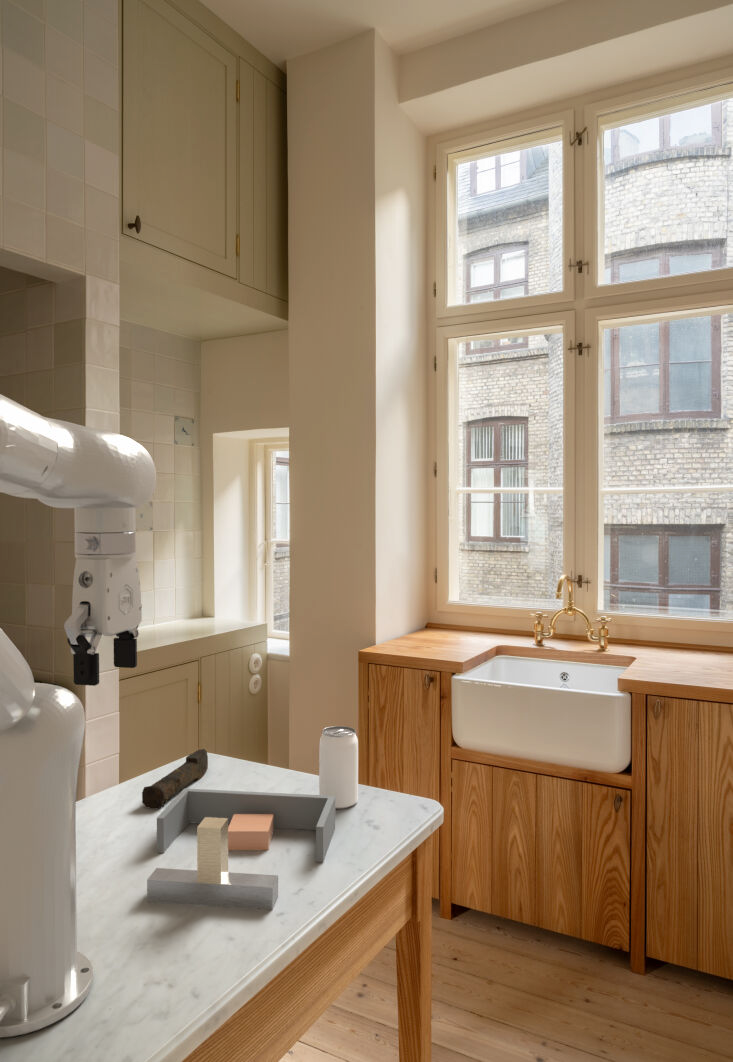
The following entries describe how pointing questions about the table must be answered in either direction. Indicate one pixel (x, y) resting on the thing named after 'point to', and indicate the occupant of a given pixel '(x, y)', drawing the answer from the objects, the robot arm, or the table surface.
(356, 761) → the can
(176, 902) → the scraper
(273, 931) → the table surface
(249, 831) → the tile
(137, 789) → the table surface
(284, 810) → the box
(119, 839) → the table surface
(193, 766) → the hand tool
